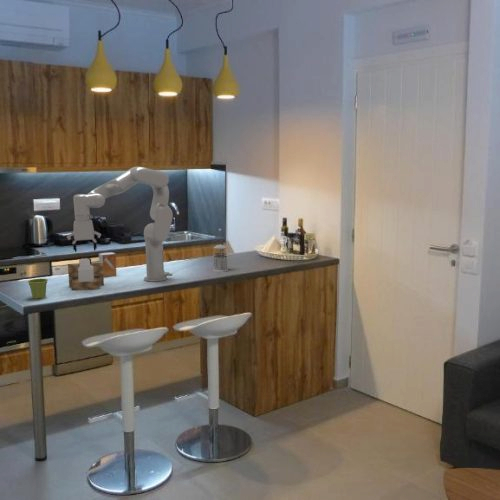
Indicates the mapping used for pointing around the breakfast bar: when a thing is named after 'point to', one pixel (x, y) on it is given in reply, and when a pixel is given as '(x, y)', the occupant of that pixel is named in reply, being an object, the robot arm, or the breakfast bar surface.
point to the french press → (220, 259)
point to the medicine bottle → (85, 270)
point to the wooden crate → (85, 285)
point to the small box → (108, 263)
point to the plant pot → (38, 288)
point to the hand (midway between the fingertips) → (85, 250)
